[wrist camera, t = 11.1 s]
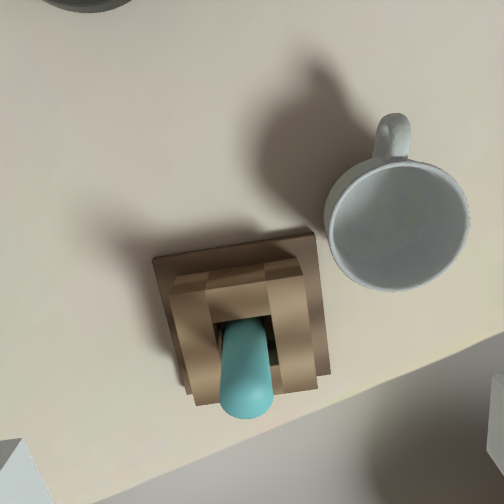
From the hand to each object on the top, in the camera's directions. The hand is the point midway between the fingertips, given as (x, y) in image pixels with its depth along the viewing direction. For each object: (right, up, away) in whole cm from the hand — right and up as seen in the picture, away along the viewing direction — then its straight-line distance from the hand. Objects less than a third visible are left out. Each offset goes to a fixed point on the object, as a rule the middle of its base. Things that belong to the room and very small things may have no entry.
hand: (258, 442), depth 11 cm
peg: (-1, -1, +29) cm, 29 cm away
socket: (-1, -1, +30) cm, 30 cm away
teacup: (+11, +11, +26) cm, 31 cm away
